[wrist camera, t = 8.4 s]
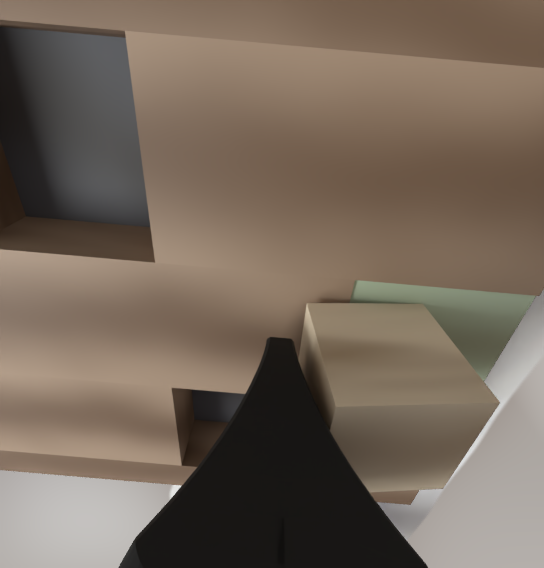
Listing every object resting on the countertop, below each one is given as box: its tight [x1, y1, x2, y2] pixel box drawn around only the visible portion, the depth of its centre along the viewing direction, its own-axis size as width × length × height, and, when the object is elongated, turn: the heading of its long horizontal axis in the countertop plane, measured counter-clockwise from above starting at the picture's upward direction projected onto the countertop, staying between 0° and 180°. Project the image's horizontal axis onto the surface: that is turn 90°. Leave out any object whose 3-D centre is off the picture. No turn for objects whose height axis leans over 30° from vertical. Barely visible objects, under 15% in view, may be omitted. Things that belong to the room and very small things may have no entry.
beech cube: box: [299, 303, 500, 492], centre depth 10 cm, size 4×4×4 cm
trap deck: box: [0, 0, 544, 505], centre depth 14 cm, size 22×28×3 cm
